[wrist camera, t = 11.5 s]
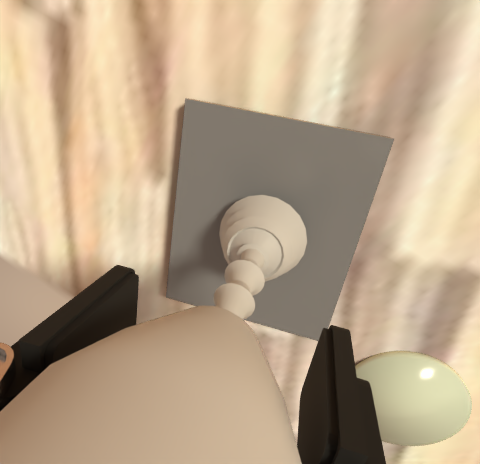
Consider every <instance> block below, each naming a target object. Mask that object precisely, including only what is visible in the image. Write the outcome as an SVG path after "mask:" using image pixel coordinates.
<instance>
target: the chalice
mask: <svg viewBox="0 0 480 464" xmlns="http://www.w3.org/2000/svg"><path fill="white" fill-rule="evenodd" d="M219 236H220V241H221V247H222V249H223V253H224V257H225V259H226V261H227V263H228V266H227V268H226V270H225V275H224V276H225V281H226V283H227V284H223V285H221V286H220V287H218V288H217V289H216V291H215V293H214V303H215V306H197V307H193V308H190V309H187V310H183V311H180V312H177V313H173V314H170V315H167V316H164V317H160V318H157V319H154V320H150V321H147V322H144V323H140V324H137V325H134V326H131V327H127V328H125V329H122V330H120V331H118V332H116V333H114V334H112V335H110V336H108V337H106V338H104V339H102V340H100V341H98V342H96V343H94V344H92V345H90V346H87V347H85V348H83V349H81V350H79V351H77V352H75V353H73V354H71V355H69V356H67V357H65V358H63V359H61V360H59V361H57V362H55V363H53V364H50V365H49V366H48V367H47V368H46V369H45V370H44V371H43V372H42V373H41V374H40V375H39V376H37V377H36V378H35V379H34V380H33V381H32V382H31V383H30V384H29V385H28V386H27V387H26V388H25V389H24V390H22V391H21V392H20V393H19V394H18V395H17V396H16V397H15V398H14V399H13V400H12V401H11V402H10V403H9V404H8V405H7V406H6V407H5V408H4V409H2V410H1V411H0V464H302V463H301V459H300V456H299V452H298V448H297V445H296V441H295V437H294V433H293V429H292V426H291V422H290V418H289V415H288V411H287V407H286V403H285V400H284V397H283V395H282V393H281V391H280V388H279V386H278V384H277V382H276V379H275V377H274V375H273V372H272V370H271V368H270V366H269V363H268V361H267V359H266V357H265V354H264V352H263V350H262V348H261V345H260V343H259V341H258V339H257V337H256V335H255V334H254V332H253V330H252V328H251V327H250V326H249V325H248V324H247V323H246V322H245V321H244V320H243V319H246V318H248V317H249V316H251V315H252V313H253V312H254V309H255V301H254V298H253V295H256V294H258V293H259V292H260V291H261V290H262V289H263V287H264V283H265V281H269V280H272V279H275V278H277V277H278V276H281V275H282V274H284V273H287V272H288V271H289V270H291V269H292V268H294V267H295V266H296V265H297V264H298V263H299V261H300V260H301V258H302V257H303V255H304V252H305V248H306V244H307V236H306V228H305V226H304V223H303V221H302V219H301V217H300V215H299V214H298V213H297V212H296V211H295V210H294V209H293V208H292V207H291V206H290V205H289V204H287V203H285V202H284V201H282V200H280V199H278V198H276V197H271V196H266V195H255V196H248V197H246V198H243V199H241V200H239V201H237V202H235V203H234V204H233V205H232V206H231V207H230V208H229V209H228V210H227V211H226V213H225V215H224V217H223V219H222V221H221V225H220V232H219Z"/></svg>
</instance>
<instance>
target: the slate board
mask: <svg viewBox="0 0 480 464" xmlns="http://www.w3.org/2000/svg"><path fill="white" fill-rule="evenodd" d="M393 141H394V139H393V138H390V137H386V136H380V135H375V134H370V133H365V132H360V131H355V130H349V129H344V128H339V127H334V126H329V125H324V124H318V123H313V122H308V121H303V120H298V119H293V118H287V117H282V116H277V115H272V114H267V113H262V112H256V111H251V110H246V109H241V108H236V107H231V106H226V105H220V104H215V103H210V102H205V101H200V100H195V99H186V98H185V108H184V118H183V129H182V139H181V149H180V159H179V169H178V180H177V190H176V200H175V210H174V220H173V231H172V241H171V251H170V261H169V271H168V282H167V292H166V297H167V298H170V299H174V300H177V301H181V302H184V303H188V304H191V305H195V306H215V303H214V293H215V291H216V289H217V288H218V287H220V286H221V285H223V284H227V283H226V281H225V276H224V275H225V270H226V268H227V266H228V263H227V261H226V259H225V257H224V253H223V249H222V247H221V241H220V236H219V232H220V225H221V221H222V219H223V217H224V215H225V213H226V211H227V210H228V209H229V208H230V207H231V206H232V205H233V204H234V203H235V202H237V201H239V200H241V199H243V198H246V197H248V196H255V195H266V196H271V197H276V198H278V199H280V200H282V201H284V202H285V203H287V204H289V205H290V206H291V207H292V208H293V209H294V210H295V211H296V212H297V213H298V214H299V215H300V217H301V219H302V221H303V223H304V226H305V228H306V236H307V244H306V248H305V252H304V255H303V257H302V258H301V260H300V261H299V263H298V264H297V265H296V266H295V267H294V268H292V269H291V270H289V271H288V272H287V273H284V274H282V275H281V276H278V277H277V278H275V279H272V280H269V281H265V283H264V287H263V289H262V290H261V291H260V292H259V293H258V294H256V295H253V298H254V301H255V309H254V312H253V313H252V315H251V316H249V317H248V318H246V319H244V320H247V321H251V322H254V323H258V324H261V325H265V326H268V327H272V328H275V329H279V330H282V331H285V332H289V333H292V334H296V335H299V336H303V337H306V338H310V339H313V340H317V341H319V338H320V335H321V332H322V330H323V328H327V329H328V327H329V324H330V321H331V318H332V315H333V312H334V309H335V307H336V304H337V301H338V298H339V295H340V292H341V289H342V287H343V284H344V281H345V278H346V275H347V272H348V269H349V267H350V264H351V261H352V258H353V255H354V252H355V249H356V247H357V244H358V241H359V238H360V235H361V232H362V230H363V227H364V224H365V221H366V218H367V215H368V212H369V210H370V207H371V204H372V201H373V198H374V195H375V192H376V190H377V187H378V184H379V181H380V178H381V175H382V172H383V170H384V167H385V164H386V161H387V158H388V155H389V152H390V150H391V147H392V144H393Z"/></svg>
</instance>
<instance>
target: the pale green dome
mask: <svg viewBox="0 0 480 464" xmlns="http://www.w3.org/2000/svg"><path fill="white" fill-rule="evenodd" d="M355 369H356V376H357V378H360V379H363V380H367V381H368V382H369V383H370V386H371V389H372V395H373V400H374V405H375V410H376V415H377V420H378V425H379V431H380V436H381V441H384V442H387V443H391V444H396V445H403V446H422V445H429V444H434V443H437V442H440V441H443V440H446V439H447V438H449V437H451V436H453V435H454V434H456V433H457V432H459V431H460V430H461V429H462V428H463V427H464V425H465V424H466V423H467V421H468V419H469V417H470V414H471V410H472V401H471V397H470V393H469V391H468V389H467V387H466V385H465V384H464V382H463V380H462V378H461V377H460V376H459V374H458V373H457V372H456V371H455V370H454V369H453V368H451V367H450V366H449V365H447V364H446V363H444V362H442V361H441V360H439V359H436V358H434V357H432V356H429V355H426V354H422V353H417V352H410V351H391V352H385V353H380V354H377V355H373V356H371V357H369V358H366V359H365V360H363V361H361V362H360V363H358V364H357V365H356V366H355Z"/></svg>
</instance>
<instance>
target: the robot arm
mask: <svg viewBox="0 0 480 464" xmlns="http://www.w3.org/2000/svg"><path fill="white" fill-rule="evenodd" d="M138 282H139V277H138V275H136V274H135V271H134V270H133V269H131V268H127V267H124V266H120V265H116V266H115V267H113V268H112V269H111V270H109V271H108V272H107V273H106V274H104V275H103V276H102V277H100V278H99V279H98V280H96V281H95V282H94V283H93V284H91V285H90V286H89V287H87V288H86V289H85V290H83V291H82V292H81V293H79V294H78V295H77V296H76V297H74V298H73V299H72V300H70V301H69V302H68V303H66V304H65V305H64V306H63V307H61V308H60V309H59V310H57V311H56V312H55V313H53V314H52V315H51V316H49V317H48V318H47V319H46V320H44V321H43V322H42V323H40V324H39V325H38V326H36V327H35V328H34V329H33V330H31V331H30V332H29V333H27V334H26V335H25V336H23V337H22V338H21V339H20V340H19V341H18V342H16V343H15V344H14V345H12V346H11V347H10V346H9V345H6V344H4V343H0V411H1V410H2V409H4V408H5V407H6V406H7V405H8V404H9V403H10V402H11V401H12V400H13V399H14V398H15V397H16V396H17V395H18V394H19V393H20V392H21V391H22V390H24V389H25V388H26V387H27V386H28V385H29V384H30V383H31V382H32V381H33V380H34V379H35V378H36V377H37V376H39V375H40V374H41V373H42V372H43V371H44V370H45V369H46V368H47V367H48V366H49V365H50V364H53V363H55V362H57V361H59V360H61V359H63V358H65V357H67V356H69V355H71V354H73V353H75V352H77V351H79V350H81V349H83V348H85V347H87V346H90V345H92V344H94V343H96V342H98V341H100V340H102V339H104V338H106V337H108V336H110V335H112V334H114V333H116V332H118V331H120V330H122V329H125V328H127V327H131V326H134V325H136V317H137V299H138ZM297 448H298V452H299V456H300V459H301V463H302V464H386V461H385V456H384V451H383V446H382V441H381V436H380V431H379V425H378V420H377V415H376V410H375V405H374V400H373V395H372V389H371V386H370V383H369V382H368V381H367V380H363V379H360V378H357V376H356V369H355V362H354V355H353V349H352V342H351V335H350V331H349V330H348V329H344V328H340V327H337V326H333V325H331V326H330V328H329V329H327V328H323V330H322V332H321V335H320V338H319V341H318V344H317V347H316V350H315V353H314V356H313V359H312V361H311V364H310V367H309V370H308V373H307V376H306V379H305V382H304V385H303V388H302V392H301V397H300V409H299V426H298V442H297Z"/></svg>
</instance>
